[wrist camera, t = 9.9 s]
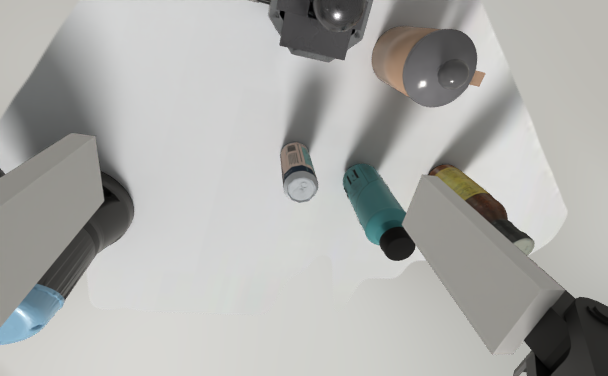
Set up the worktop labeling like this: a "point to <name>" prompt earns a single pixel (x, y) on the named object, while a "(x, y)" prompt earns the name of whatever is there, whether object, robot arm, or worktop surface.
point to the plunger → (336, 13)
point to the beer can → (298, 173)
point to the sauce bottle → (483, 205)
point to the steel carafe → (312, 30)
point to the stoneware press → (426, 63)
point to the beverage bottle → (378, 211)
